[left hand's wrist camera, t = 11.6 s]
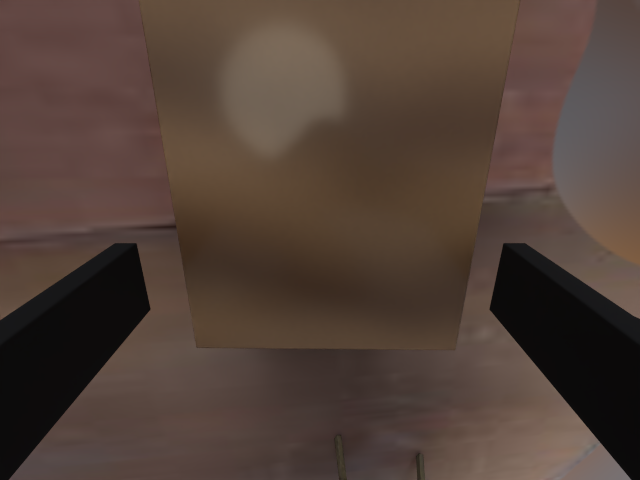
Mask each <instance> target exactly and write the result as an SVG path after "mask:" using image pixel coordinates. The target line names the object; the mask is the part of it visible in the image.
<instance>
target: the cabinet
mask: <svg viewBox="0 0 640 480" xmlns="http://www.w3.org/2000/svg"><path fill="white" fill-rule="evenodd" d="M519 4H520V0H139V5H140V11H141V17H142V23H143V29H144V35H145V41H146V47H147V53H148V59H149V65H150V71H151V77H152V83H153V89H154V95H155V101H156V107H157V113H158V119H159V125H160V131H161V137H162V143H163V149H164V155H165V161H166V167H167V173H168V179H169V185H170V191H171V197H172V203H173V209H174V215H175V221H176V227H177V233H178V239H179V245H180V251H181V257H182V263H183V269H184V275H185V281H186V287H187V293H188V299H189V305H190V311H191V317H192V323H193V329H194V335H195V341H196V347H197V348H273V349H379V350H455V349H456V343H457V338H458V333H459V327H460V322H461V316H462V311H463V306H464V300H465V295H466V289H467V284H468V279H469V273H470V268H471V263H472V257H473V252H474V246H475V241H476V236H477V230H478V225H479V220H480V214H481V209H482V203H483V198H484V193H485V187H486V182H487V176H488V171H489V166H490V160H491V155H492V150H493V144H494V139H495V133H496V128H497V123H498V117H499V112H500V107H501V101H502V96H503V90H504V85H505V80H506V74H507V69H508V63H509V58H510V53H511V47H512V42H513V37H514V31H515V26H516V20H517V15H518V10H519Z"/></svg>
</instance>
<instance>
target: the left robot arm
mask: <svg viewBox="0 0 640 480" xmlns="http://www.w3.org/2000/svg"><path fill="white" fill-rule="evenodd" d="M149 311H150V305H149V300H148V295H147V291H146V286H145V281H144V277H143V272H142V267H141V263H140V258H139V253H138V248H137V244H136V243H115V244H113V245H112V246H110V247H109V248H107V249H106V250H104V251H103V252H101V253H100V254H98V255H97V256H95V257H94V258H92V259H91V260H89V261H88V262H86V263H85V264H84V265H82V266H81V267H79V268H78V269H76V270H75V271H73V272H72V273H70V274H69V275H67V276H66V277H64V278H63V279H61V280H60V281H58V282H57V283H55V284H54V285H52V286H51V287H49V288H48V289H46V290H45V291H43V292H42V293H40V294H39V295H37V296H36V297H34V298H33V299H31V300H30V301H28V302H27V303H25V304H24V305H22V306H21V307H19V308H18V309H16V310H15V311H13V312H12V313H10V314H9V315H7V316H6V317H4V318H3V319H2V320H0V480H9V479H10V477H11V476H12V475H13V474H14V473H15V471H16V470H17V469H18V468H19V467H20V465H21V464H22V463H23V462H24V461H25V459H26V458H27V457H28V456H29V455H30V453H31V452H32V451H33V450H34V449H35V447H36V446H37V445H38V444H39V443H40V441H41V440H42V439H43V438H44V437H45V435H46V434H47V433H48V432H49V431H50V429H51V428H52V427H53V426H54V425H55V423H56V422H57V421H58V420H59V419H60V417H61V416H62V415H63V414H64V413H65V411H66V410H67V409H68V408H69V407H70V405H71V404H72V403H73V402H74V401H75V399H76V398H77V397H78V396H79V395H80V393H81V392H82V391H83V390H84V389H85V387H86V386H87V385H88V384H89V383H90V381H91V380H92V379H93V378H94V377H95V375H96V374H97V373H98V372H99V371H100V369H101V368H102V367H103V366H104V365H105V363H106V362H107V361H108V360H109V359H110V357H111V356H112V355H113V354H114V353H115V351H116V350H117V349H118V348H119V347H120V345H121V344H122V343H123V342H124V341H125V339H126V338H127V337H128V336H129V335H130V333H131V332H132V331H133V330H134V329H135V327H136V326H137V325H138V324H139V323H140V321H141V320H142V319H143V318H144V317H145V315H146V314H147V313H148V312H149ZM490 311H491V312H492V313H493V314H494V315H495V317H496V318H497V319H498V320H499V321H500V323H501V324H502V325H503V326H504V327H505V329H506V330H507V331H508V332H509V333H510V335H511V336H512V337H513V338H514V339H515V341H516V342H517V343H518V344H519V345H520V347H521V348H522V349H523V350H524V351H525V353H526V354H527V355H528V356H529V357H530V359H531V360H532V361H533V362H534V363H535V365H536V366H537V367H538V368H539V369H540V371H541V372H542V373H543V374H544V375H545V377H546V378H547V379H548V380H549V381H550V383H551V384H552V385H553V386H554V387H555V389H556V390H557V391H558V392H559V393H560V395H561V396H562V397H563V398H564V399H565V401H566V402H567V403H568V404H569V405H570V407H571V408H572V409H573V410H574V411H575V413H576V414H577V415H578V416H579V417H580V419H581V420H582V421H583V422H584V423H585V425H586V426H587V427H588V428H589V429H590V431H591V432H592V433H593V434H594V435H595V437H596V438H597V439H598V440H599V441H600V443H601V444H602V445H603V446H604V447H605V449H606V450H607V451H608V452H609V453H610V455H611V456H612V457H613V458H614V459H615V461H616V462H617V463H618V464H619V465H620V467H621V468H622V469H623V470H624V471H625V473H626V474H627V475H628V476H629V477H630V479H631V480H640V319H639V318H636V317H634V316H633V315H631V314H630V313H628V312H627V311H625V310H624V309H622V308H621V307H619V306H618V305H616V304H615V303H613V302H612V301H610V300H609V299H607V298H606V297H604V296H603V295H601V294H600V293H598V292H597V291H595V290H594V289H592V288H591V287H589V286H588V285H586V284H585V283H583V282H582V281H580V280H579V279H577V278H576V277H574V276H573V275H571V274H570V273H568V272H567V271H565V270H564V269H562V268H561V267H559V266H558V265H556V264H555V263H554V262H552V261H551V260H549V259H548V258H546V257H545V256H543V255H542V254H540V253H539V252H537V251H536V250H534V249H533V248H531V247H530V246H528V245H527V244H525V243H504V244H503V248H502V253H501V258H500V263H499V267H498V272H497V277H496V281H495V286H494V291H493V295H492V300H491V305H490Z"/></svg>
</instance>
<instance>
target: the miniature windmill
mask: <svg viewBox="0 0 640 480" xmlns="http://www.w3.org/2000/svg"><path fill="white" fill-rule="evenodd" d="M334 439H335V447H336V456H337V464H338V473H339V480H347V478H346V471H345V463H344V455H343V448H342V440H341V435H336V437H335V438H334ZM416 462H417V480H425V474H424V458H423V455H422V454H420V453H419V454H418V455H417V456H416Z"/></svg>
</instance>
